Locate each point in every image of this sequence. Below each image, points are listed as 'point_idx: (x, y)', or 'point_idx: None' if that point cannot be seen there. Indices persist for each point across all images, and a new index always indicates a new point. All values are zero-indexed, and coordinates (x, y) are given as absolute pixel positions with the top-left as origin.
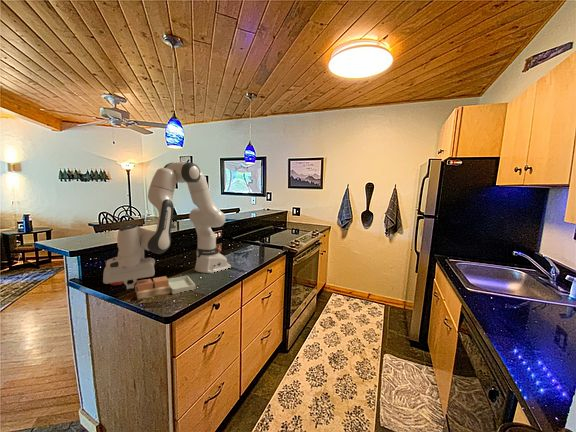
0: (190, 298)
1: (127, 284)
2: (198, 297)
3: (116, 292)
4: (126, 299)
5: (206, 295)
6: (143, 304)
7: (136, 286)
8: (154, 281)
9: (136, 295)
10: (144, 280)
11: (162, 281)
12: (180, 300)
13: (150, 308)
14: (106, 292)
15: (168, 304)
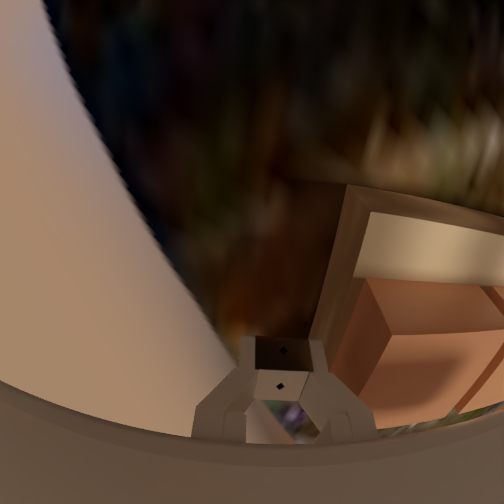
0: (459, 417)
1: (243, 411)
2: (476, 415)
3: (165, 107)
4: (233, 324)
5: (496, 408)
6: (303, 413)
7: (367, 266)
8: (471, 398)
9: (318, 303)
10: (451, 356)
11: (494, 400)
12: (431, 422)
13: (312, 441)
14: (83, 61)
15: (381, 436)
